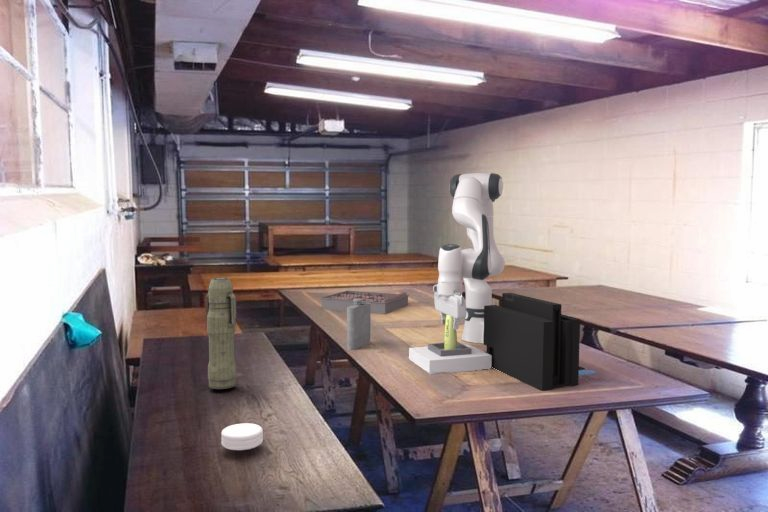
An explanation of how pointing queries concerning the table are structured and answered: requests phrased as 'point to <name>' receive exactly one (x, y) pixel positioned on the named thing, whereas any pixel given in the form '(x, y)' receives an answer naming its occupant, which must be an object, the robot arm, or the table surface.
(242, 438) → the coaster
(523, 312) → the game console
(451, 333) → the tube
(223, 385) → the thermos
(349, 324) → the hip flask
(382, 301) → the organizer tray
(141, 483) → the table surface
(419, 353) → the white box with hole
